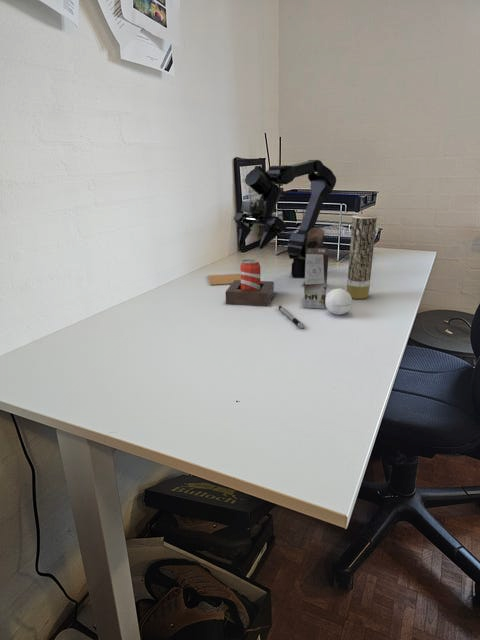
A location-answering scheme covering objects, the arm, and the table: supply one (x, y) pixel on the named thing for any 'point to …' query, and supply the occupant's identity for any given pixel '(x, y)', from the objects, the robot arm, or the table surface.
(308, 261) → the coffee box
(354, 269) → the bark patterned cylinder
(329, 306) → the seamed sphere
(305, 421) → the table surface
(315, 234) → the statue
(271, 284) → the stand
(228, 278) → the cork mat
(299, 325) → the pen
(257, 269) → the beverage can
